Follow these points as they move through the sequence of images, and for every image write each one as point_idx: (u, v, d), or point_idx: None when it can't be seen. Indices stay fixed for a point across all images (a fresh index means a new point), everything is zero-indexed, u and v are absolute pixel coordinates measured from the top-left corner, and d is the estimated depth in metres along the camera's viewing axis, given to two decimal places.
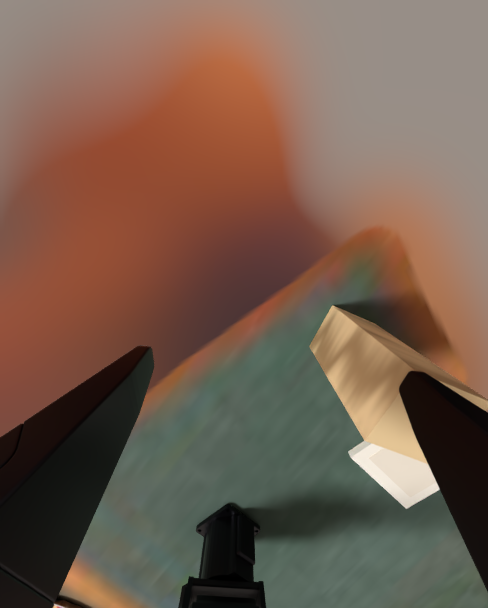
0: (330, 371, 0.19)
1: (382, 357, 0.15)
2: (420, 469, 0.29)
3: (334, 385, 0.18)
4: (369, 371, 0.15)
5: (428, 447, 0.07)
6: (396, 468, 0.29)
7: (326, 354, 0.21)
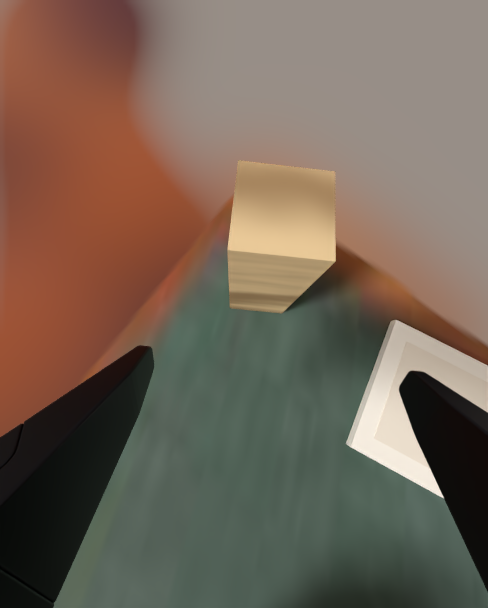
0: None
1: None
2: None
3: (229, 282, 0.16)
4: None
5: (428, 447, 0.07)
6: None
7: None
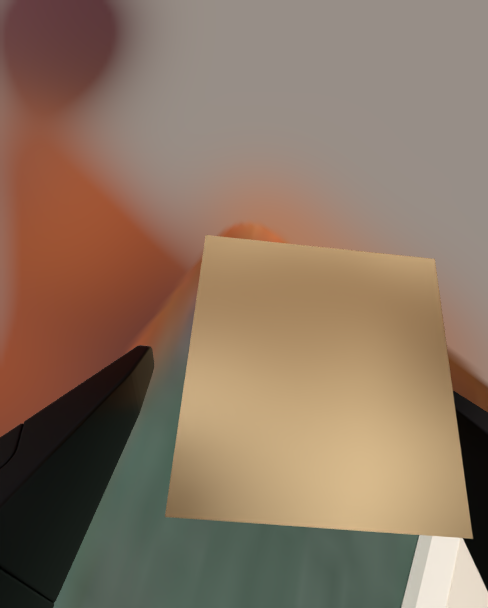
0: None
1: None
2: None
3: None
4: None
5: None
6: None
7: None
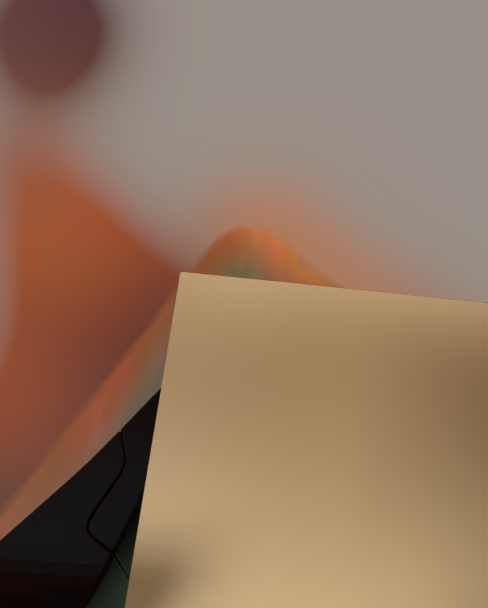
0: None
1: None
2: None
3: None
4: None
5: None
6: None
7: None
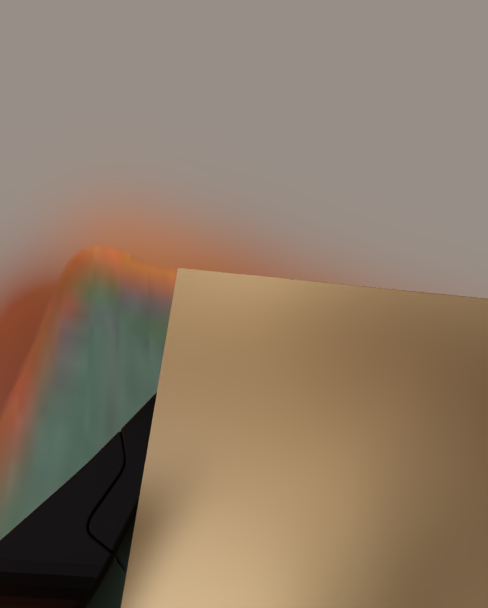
0: None
1: None
2: None
3: None
4: None
5: None
6: None
7: None
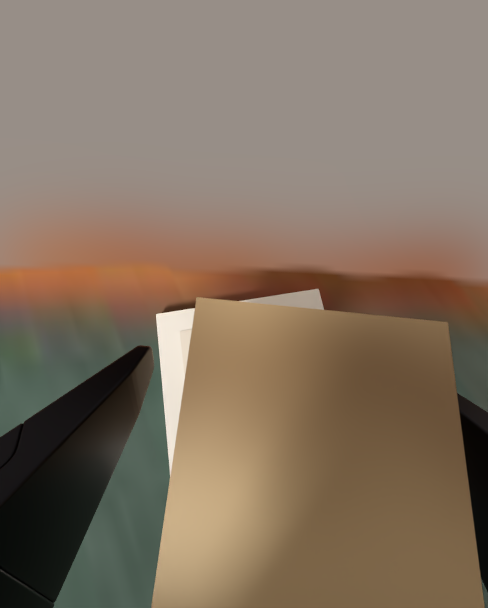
0: None
1: None
2: None
3: None
4: None
5: None
6: None
7: None
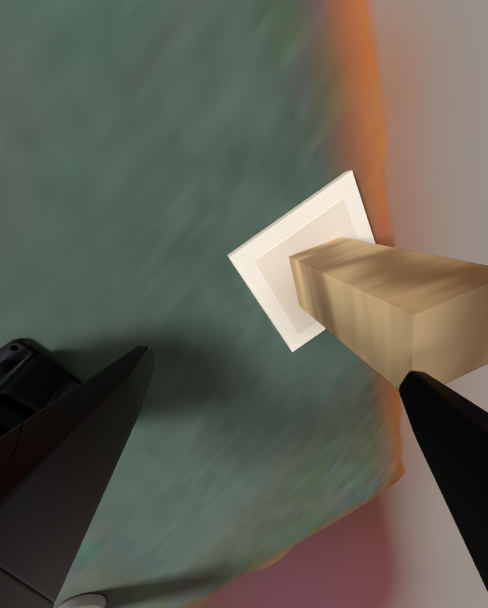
0: (332, 270, 0.15)
1: (443, 263, 0.12)
2: None
3: (339, 278, 0.14)
4: (418, 270, 0.12)
5: (428, 447, 0.07)
6: (288, 286, 0.21)
7: (325, 261, 0.17)
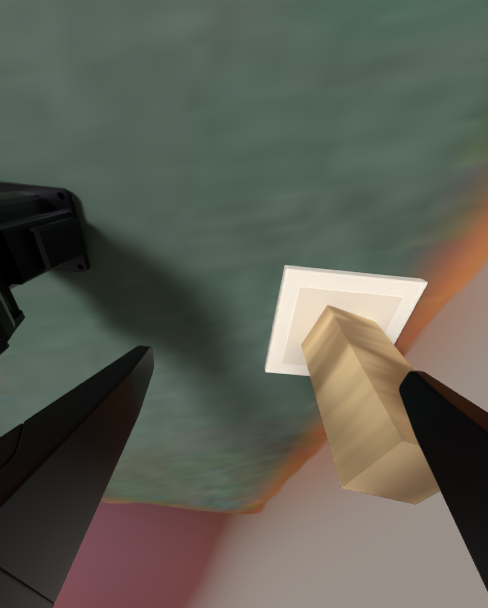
0: (357, 348, 0.16)
1: None
2: None
3: (360, 361, 0.15)
4: None
5: (428, 447, 0.07)
6: (306, 324, 0.22)
7: (355, 334, 0.18)
